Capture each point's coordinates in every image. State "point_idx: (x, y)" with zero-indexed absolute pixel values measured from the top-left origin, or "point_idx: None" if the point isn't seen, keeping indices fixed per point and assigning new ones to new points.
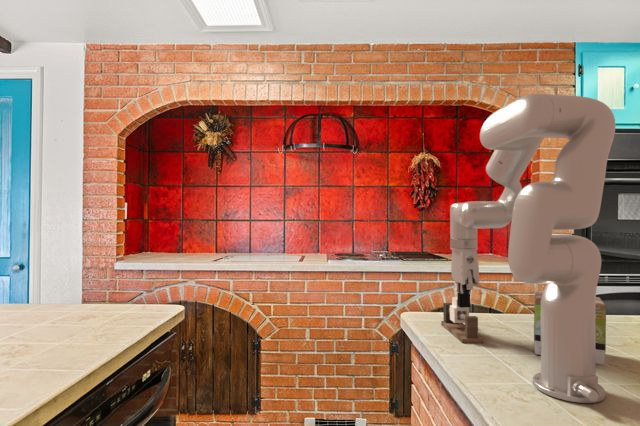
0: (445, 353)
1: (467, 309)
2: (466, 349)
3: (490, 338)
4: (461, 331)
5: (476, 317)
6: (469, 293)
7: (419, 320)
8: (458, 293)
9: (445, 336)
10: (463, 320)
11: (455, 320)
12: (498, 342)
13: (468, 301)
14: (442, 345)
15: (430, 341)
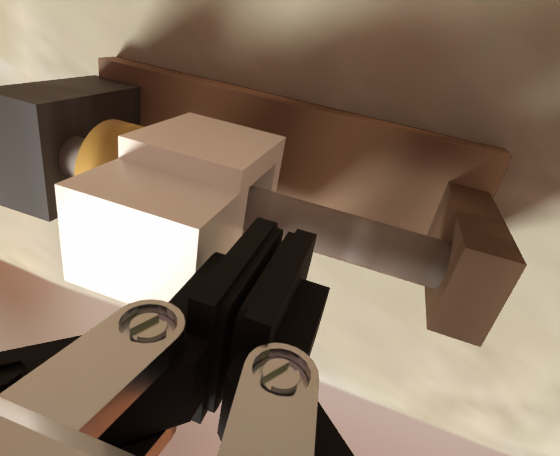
0: (550, 431)
1: (244, 180)
2: (556, 319)
3: (443, 31)
4: (321, 199)
5: (518, 275)
6: (311, 379)
7: (45, 231)
8: (203, 415)
9: (314, 277)
10: (273, 185)
11: None
12: (552, 31)
13: (298, 280)
14: (439, 373)
15: (365, 380)
